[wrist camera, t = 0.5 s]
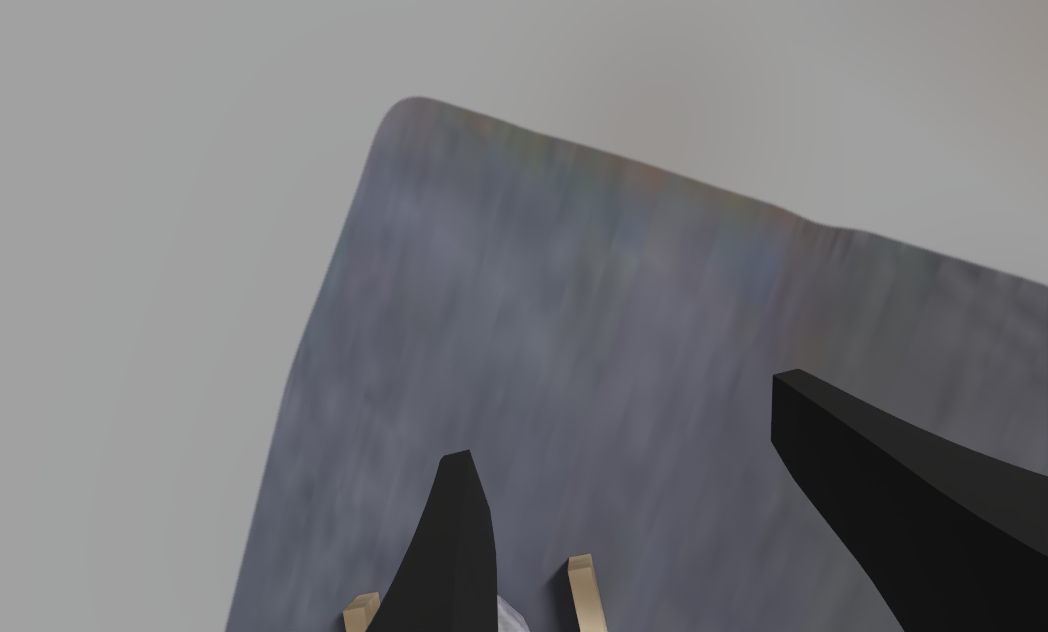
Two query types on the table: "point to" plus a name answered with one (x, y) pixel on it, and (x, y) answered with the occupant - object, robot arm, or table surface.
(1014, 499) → the robot arm
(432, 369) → the table surface
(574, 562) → the pair of wooden posts
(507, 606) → the stone block
